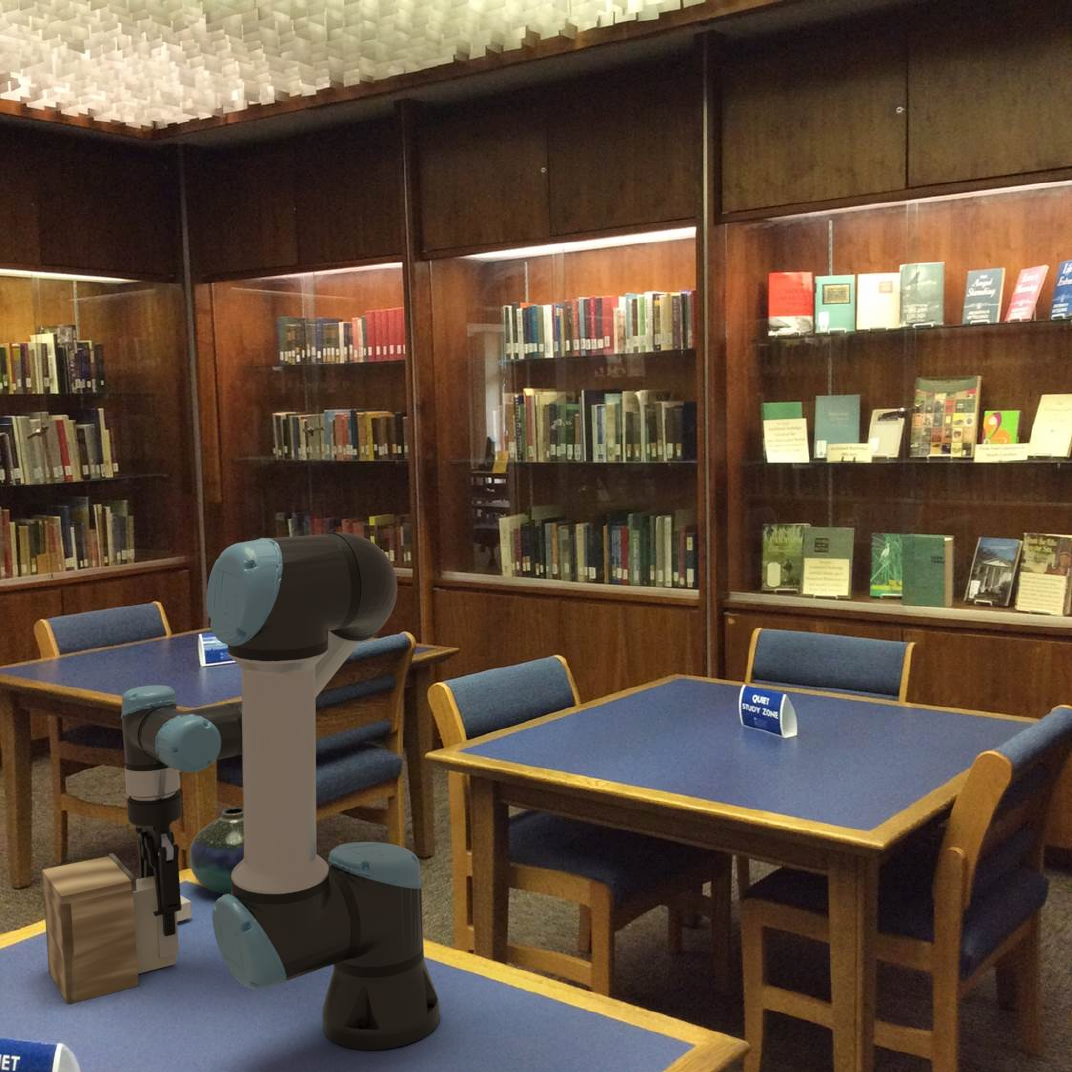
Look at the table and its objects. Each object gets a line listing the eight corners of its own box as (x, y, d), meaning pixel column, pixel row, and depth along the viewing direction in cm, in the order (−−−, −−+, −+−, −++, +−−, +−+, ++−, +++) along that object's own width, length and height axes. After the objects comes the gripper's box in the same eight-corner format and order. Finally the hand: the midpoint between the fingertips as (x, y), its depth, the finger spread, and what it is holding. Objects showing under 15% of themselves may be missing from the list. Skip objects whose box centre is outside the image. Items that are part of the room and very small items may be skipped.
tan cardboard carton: (175, 964, 180) (171, 884, 179) (104, 982, 174) (99, 899, 173) (165, 952, 184) (160, 874, 183) (96, 969, 179) (91, 889, 178)
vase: (257, 864, 221) (254, 791, 220) (300, 887, 209) (297, 810, 208) (175, 886, 211) (171, 810, 210) (215, 912, 199) (211, 832, 198)
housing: (142, 985, 174) (135, 878, 172) (68, 1004, 168) (61, 894, 167) (118, 954, 184) (112, 853, 183) (48, 971, 179) (41, 867, 177)
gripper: (199, 803, 174) (207, 963, 176) (162, 774, 189) (170, 922, 191) (145, 813, 169) (154, 976, 171) (111, 783, 185) (120, 934, 187)
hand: (163, 947), depth 181 cm, fingers closed on tan cardboard carton, 5 cm apart
